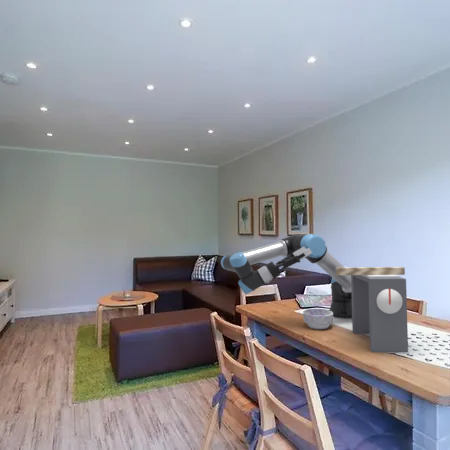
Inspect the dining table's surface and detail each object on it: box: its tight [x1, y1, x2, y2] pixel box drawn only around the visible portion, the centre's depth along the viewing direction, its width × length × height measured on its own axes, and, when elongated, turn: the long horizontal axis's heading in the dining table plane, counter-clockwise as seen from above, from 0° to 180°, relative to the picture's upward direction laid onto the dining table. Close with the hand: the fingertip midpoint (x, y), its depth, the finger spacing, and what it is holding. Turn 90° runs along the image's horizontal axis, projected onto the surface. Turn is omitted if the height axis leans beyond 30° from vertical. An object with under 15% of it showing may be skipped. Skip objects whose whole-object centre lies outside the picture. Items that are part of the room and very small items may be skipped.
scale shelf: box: [351, 275, 409, 353], centre depth 151 cm, size 14×29×31 cm, turn 175°
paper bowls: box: [302, 308, 334, 330], centre depth 176 cm, size 15×15×8 cm
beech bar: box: [336, 266, 406, 276], centre depth 146 cm, size 28×3×3 cm, turn 85°
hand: (308, 249), depth 159 cm, fingers open, 13 cm apart
